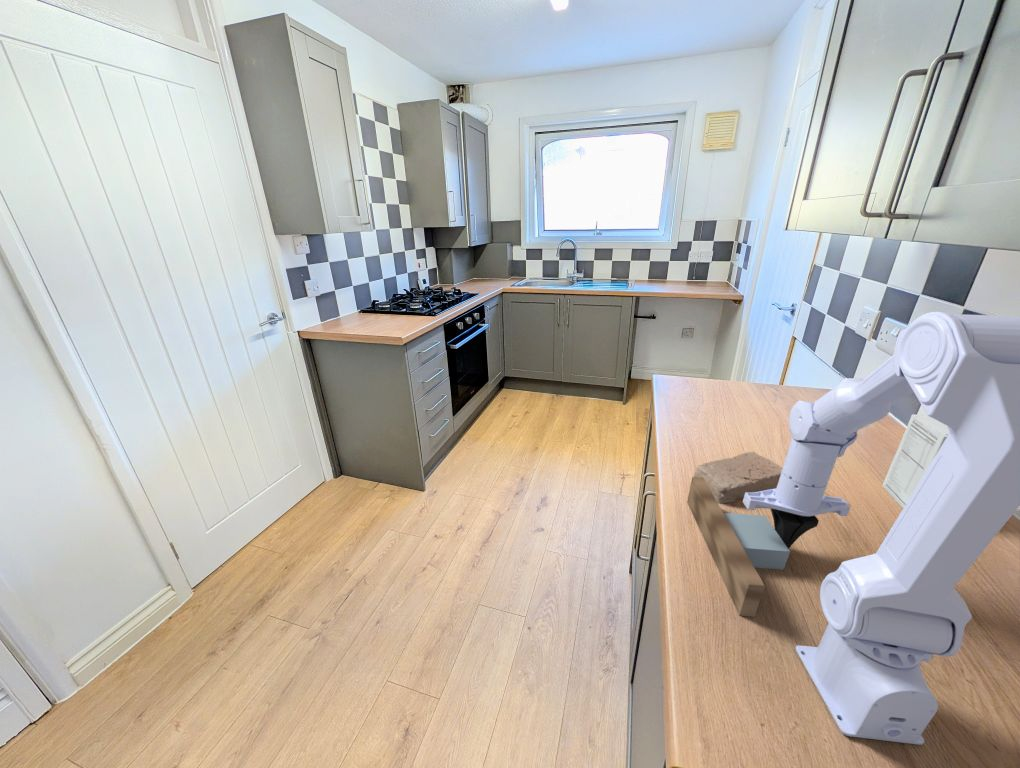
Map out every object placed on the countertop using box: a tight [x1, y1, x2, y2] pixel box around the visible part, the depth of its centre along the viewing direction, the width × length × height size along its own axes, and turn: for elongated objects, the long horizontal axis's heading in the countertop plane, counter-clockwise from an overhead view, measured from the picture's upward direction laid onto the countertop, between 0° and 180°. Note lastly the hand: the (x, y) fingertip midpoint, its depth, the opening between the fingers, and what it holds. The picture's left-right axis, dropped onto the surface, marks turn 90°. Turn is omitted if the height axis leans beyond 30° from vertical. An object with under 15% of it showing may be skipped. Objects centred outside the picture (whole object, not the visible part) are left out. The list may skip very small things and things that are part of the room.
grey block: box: [723, 512, 791, 571], centre depth 65 cm, size 8×8×4 cm
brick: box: [692, 451, 783, 505], centre depth 81 cm, size 17×8×5 cm, turn 108°
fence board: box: [686, 476, 765, 618], centre depth 64 cm, size 24×2×6 cm, turn 174°
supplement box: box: [881, 413, 949, 509], centre depth 72 cm, size 10×9×17 cm
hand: (781, 543), depth 65 cm, fingers closed
